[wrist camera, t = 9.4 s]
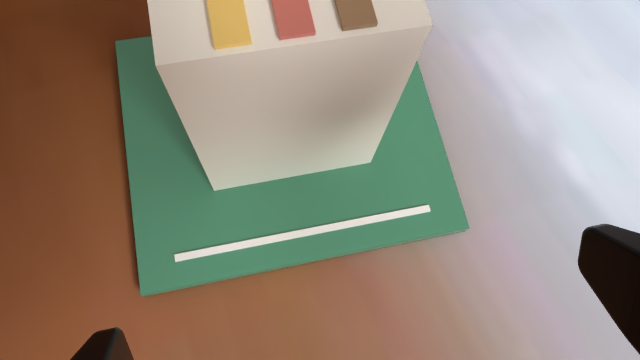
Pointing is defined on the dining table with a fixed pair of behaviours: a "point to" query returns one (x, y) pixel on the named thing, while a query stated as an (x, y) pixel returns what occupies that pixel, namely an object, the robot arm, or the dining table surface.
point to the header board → (273, 193)
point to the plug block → (285, 80)
